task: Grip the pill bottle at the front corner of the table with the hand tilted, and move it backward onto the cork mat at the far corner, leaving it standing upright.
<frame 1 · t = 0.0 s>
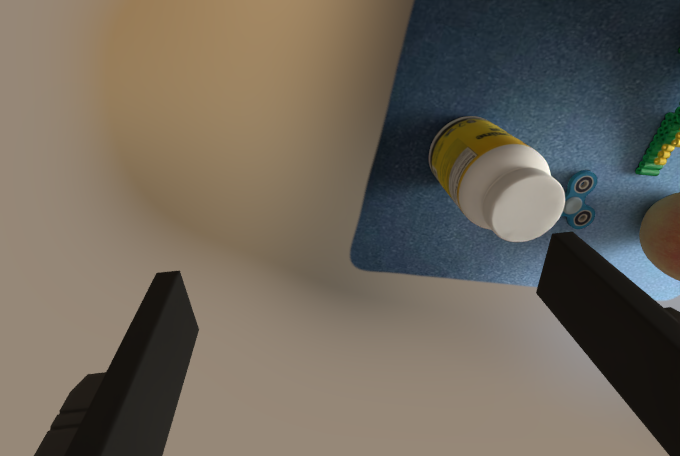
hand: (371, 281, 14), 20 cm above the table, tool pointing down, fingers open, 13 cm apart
toy: (568, 195, 37), on the table
pill bottle: (461, 149, 33), on the table
apple: (663, 214, 39), on the table
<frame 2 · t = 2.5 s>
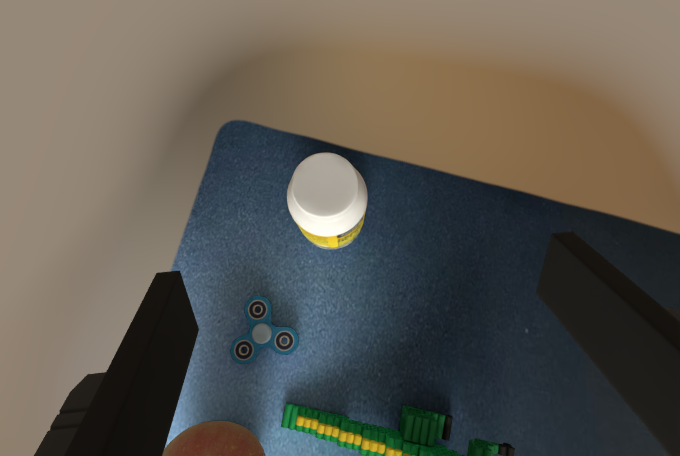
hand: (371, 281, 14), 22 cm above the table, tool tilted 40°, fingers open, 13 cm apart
toy: (269, 334, 35), on the table
pill bottle: (331, 218, 37), on the table
green brick dinosaur: (396, 438, 34), on the table
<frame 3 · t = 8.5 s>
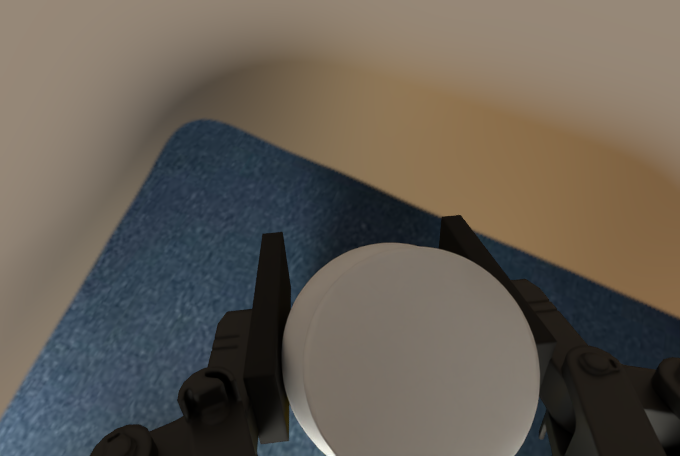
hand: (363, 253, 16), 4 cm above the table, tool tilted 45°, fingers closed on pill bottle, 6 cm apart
pill bottle: (365, 343, 18), on the table, touching gripper
when the fingers open (4 cm above the table, at t = 19.4 s): pill bottle stays where it is, resting on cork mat.
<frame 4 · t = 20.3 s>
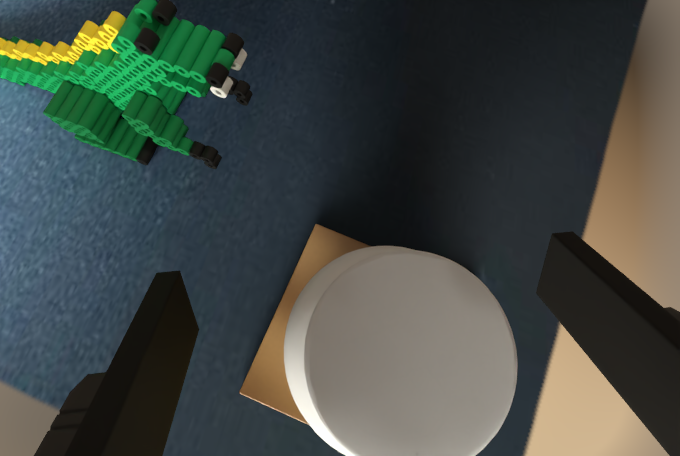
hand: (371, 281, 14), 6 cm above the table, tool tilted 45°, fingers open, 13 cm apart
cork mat: (362, 339, 20), on the table
pill bottle: (362, 341, 19), resting on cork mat
green brick dinosaur: (106, 100, 23), on the table
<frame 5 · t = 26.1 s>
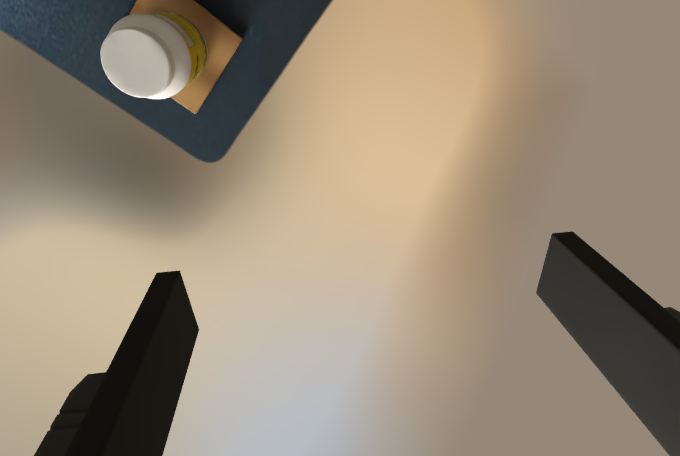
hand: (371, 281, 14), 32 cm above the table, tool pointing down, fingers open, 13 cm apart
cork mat: (177, 46, 38), on the table
pill bottle: (176, 48, 37), resting on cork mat
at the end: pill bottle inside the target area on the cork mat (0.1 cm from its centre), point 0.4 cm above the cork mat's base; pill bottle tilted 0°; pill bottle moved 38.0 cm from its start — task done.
